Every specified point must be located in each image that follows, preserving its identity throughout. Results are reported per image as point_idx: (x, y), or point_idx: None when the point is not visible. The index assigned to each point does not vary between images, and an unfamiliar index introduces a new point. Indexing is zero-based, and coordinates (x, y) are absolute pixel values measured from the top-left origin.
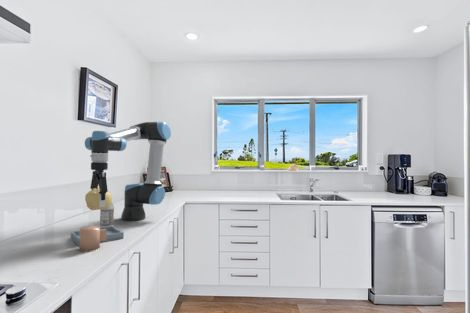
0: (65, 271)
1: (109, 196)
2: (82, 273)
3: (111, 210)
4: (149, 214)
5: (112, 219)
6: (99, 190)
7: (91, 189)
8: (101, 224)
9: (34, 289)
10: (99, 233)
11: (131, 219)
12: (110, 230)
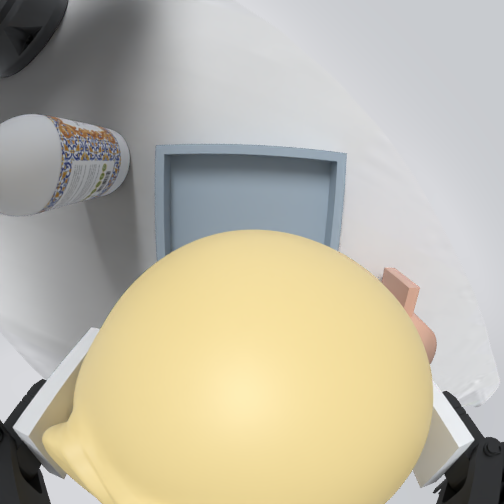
0: (453, 375)
1: (425, 354)
2: (481, 350)
3: (66, 139)
4: None
5: (99, 134)
6: None
7: (37, 476)
8: (98, 196)
9: (463, 403)
10: (418, 317)
11: (48, 34)
12: (173, 162)
